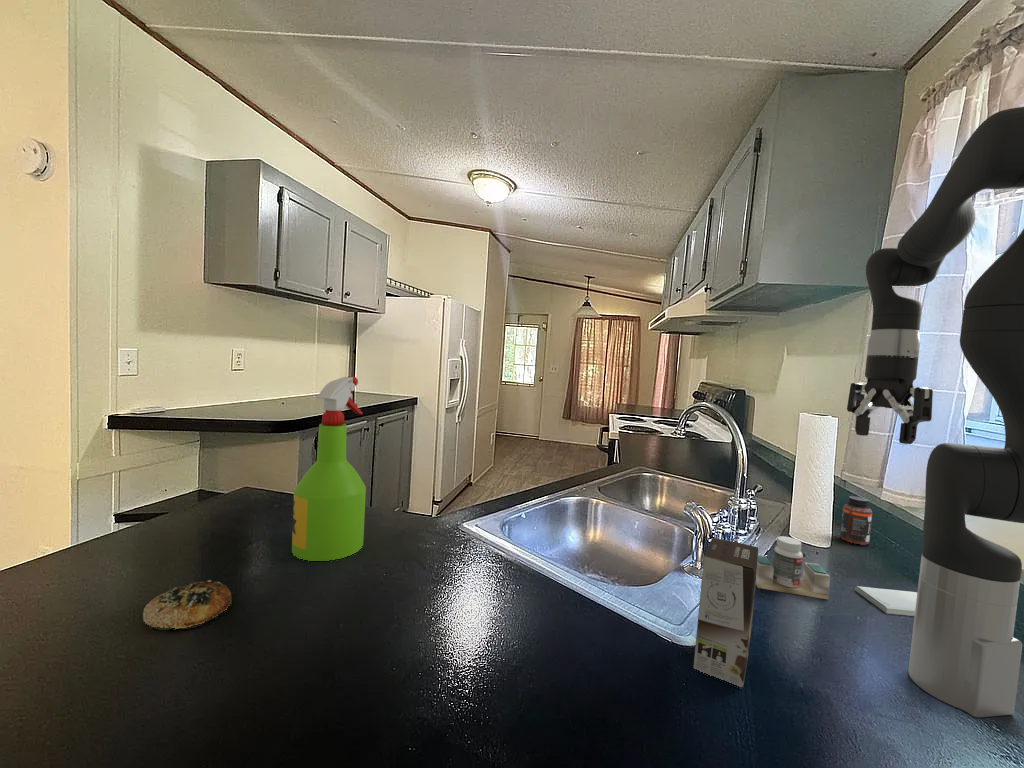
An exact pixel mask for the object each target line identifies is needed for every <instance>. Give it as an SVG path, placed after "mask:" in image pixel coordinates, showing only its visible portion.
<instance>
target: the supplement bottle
mask: <svg viewBox="0 0 1024 768" xmlns="http://www.w3.org/2000/svg"><path fill="white" fill-rule="evenodd" d="M872 519H873V510H872V509H871V508H870V507H869V499H867V498H864V497H861V496H854V495H853V496H852V495H851V496H850V495H849V496H848V502H847V503H845V504H844V505H843V507H842V517H841V527H840V538H841V540H843V541H844V540H845V541H844V542H846V541H847V543H849V542H850V543H849V544H852V543H854V544H853V545H856V544H860V545H859V546H868V545H869V544H870V542H871V541H870V539H871V529H872ZM867 544H868V545H867Z"/></svg>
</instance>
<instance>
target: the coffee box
mask: <svg viewBox="0 0 1024 768" xmlns="http://www.w3.org/2000/svg"><path fill="white" fill-rule="evenodd" d="M758 555H759V547H758V546H755V545H749V544H747V543H742V542H741V543H740V542H737V541H731V540H724V539H721V538H717V537H712V538H711V539H710V542H709V544H708V546H707V547H706V550H705V551H704V554H703V562H702V574H701V581H700V582H701V583H700V595H699V605H698V616H697V624H696V625H697V627H696V635H695V637H696V638H695V646H694V655H693V656H694V659H693V667H692V668H694V669H697V670H699V671H700V672H699V673H701V672H703V673H702V674H704V673H706V674H708V675H710V676H709V677H711V676H714V677H716V678H719V679H721V680H725V681H727V682H729V683H732V684H734V685H737V686H739V687H743V688H744V684H745V679H746V673H747V665H748V659H749V653H750V645H751V638H752V637H751V635H752V628H753V617H754V607H755V606H754V604H755V596H756V595H755V594H756V574H757V560H758ZM694 669H693V670H694ZM706 674H705V675H706ZM708 675H707V676H708ZM716 678H715V679H716ZM721 680H720V681H721Z"/></svg>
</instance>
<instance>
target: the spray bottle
mask: <svg viewBox="0 0 1024 768" xmlns="http://www.w3.org/2000/svg"><path fill="white" fill-rule="evenodd" d="M358 384H359V380H358V377H356V376H352V375H351V376H344V377H340V378H337V379H334V380H331V381H330V382H328V383H327V384H326V385H324V386H323V388H322V389H321V391H320V392H319V393H318V394H317V396H316V399H319V400H320V399H321V400H323V408H322V409H323V411H325V412H323V413H322V417H321V418H322V419H321V423H319V424H318V425H319V426H318V434H317V435H318V437H317V448H316V449H317V451H316V454H317V455H316V461H315V462H314V463H313V464H312V465H311V466H310V467H309V469H308V470H307V471H306V472H305V473H304V475H303V477H302V478H301V479H300V481H299V482H298V484H297V485H296V486H295V488H294V489H293V503H292V504H293V507H292V509H293V510H292V533H291V538H292V539H291V553H293V554H292V556H293V557H295V556H296V557H297V559H298V558H299V560H300V559H303V560H302V561H304V560H308V561H307V562H309V561H329V560H335V559H341V558H344V557H347V556H350V555H352V554H354V553H356V552H358V551H359V550H360V549H361V548H362V549H363V547H364V535H365V534H364V533H365V518H366V517H365V515H366V513H365V511H366V494H367V492H366V490H367V487H366V484H365V483H364V481H363V480H362V478H361V476H360V475H359V473H358V472H357V470H356V469H355V468H354V466H353V465H352V464H351V463H349V461H348V460H347V433H348V432H347V424H346V423H345V415H344V412H342V411H343V410H344V408H345V407H347V408H349V409H350V410H351V411H353V412H354V413H355V414H356V415H357V414H358V415H363V411H361V408H359V407H358V404H357V403H354V399H353V396H354V395H353V392H354V391H355V389H356V386H358ZM362 546H363V547H362ZM362 549H361V550H362ZM361 550H360V551H361ZM360 551H359V552H360ZM359 552H358V553H359ZM356 554H357V553H356ZM354 555H355V554H354ZM352 556H353V555H352ZM296 557H295V558H296ZM350 557H351V556H350ZM344 559H345V558H344ZM341 560H342V559H341Z"/></svg>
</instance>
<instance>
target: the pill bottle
mask: <svg viewBox="0 0 1024 768" xmlns="http://www.w3.org/2000/svg"><path fill="white" fill-rule="evenodd" d="M803 557H804V556H803V552H802V541H800V540H799V539H796V538H793V537H789V536H783V535H782V536H781V535H780V536H778V537H777V538H776V545H775V547H774V550H773V562H772V566H773V567H774V571H773V580H774V581H775V582H776V583H778V584H781V585H783V586H787V587H793V588H795V587H798V586H800V579H801V578H802V566H803Z"/></svg>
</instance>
